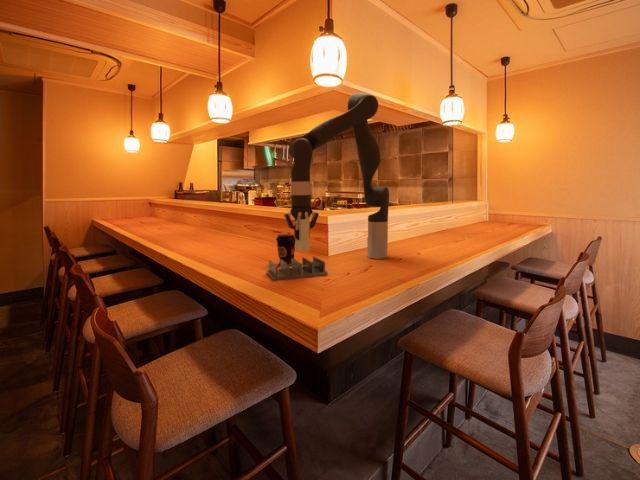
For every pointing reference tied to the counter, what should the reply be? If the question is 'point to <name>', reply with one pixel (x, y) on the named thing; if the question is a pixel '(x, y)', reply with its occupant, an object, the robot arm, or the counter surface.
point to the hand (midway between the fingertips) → (302, 239)
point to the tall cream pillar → (303, 236)
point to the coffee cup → (286, 247)
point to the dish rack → (297, 269)
